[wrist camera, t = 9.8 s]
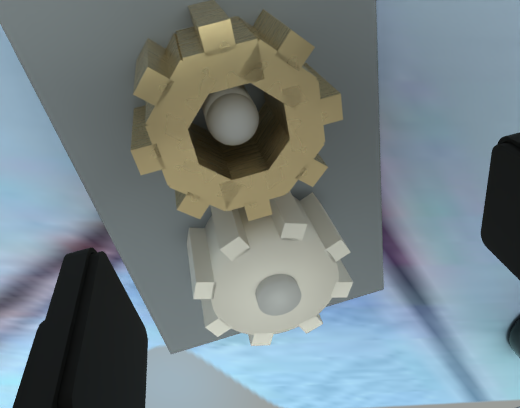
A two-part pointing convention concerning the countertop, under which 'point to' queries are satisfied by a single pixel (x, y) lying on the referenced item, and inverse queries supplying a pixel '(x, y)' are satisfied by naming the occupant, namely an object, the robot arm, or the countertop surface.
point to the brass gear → (220, 78)
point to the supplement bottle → (515, 338)
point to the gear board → (229, 133)
